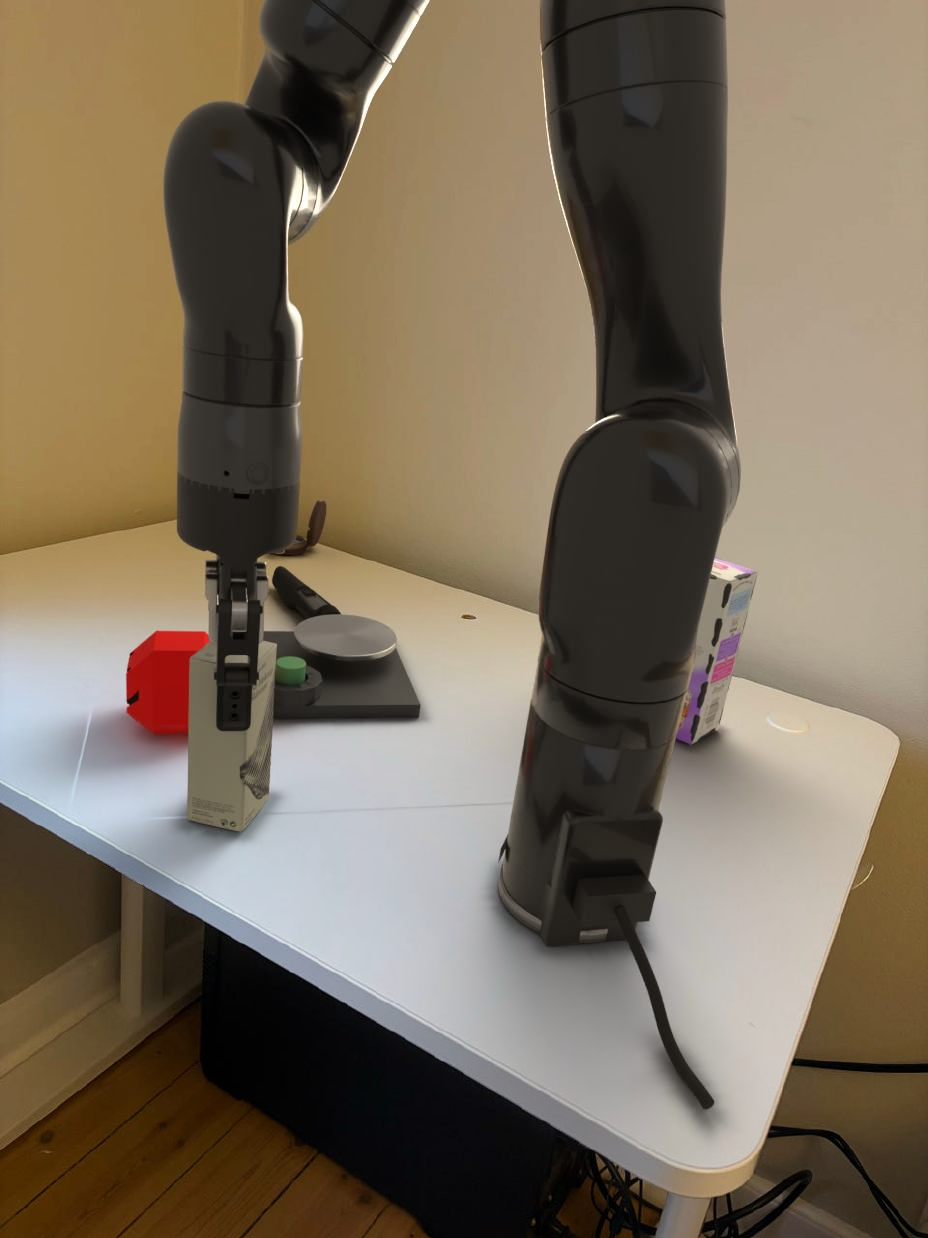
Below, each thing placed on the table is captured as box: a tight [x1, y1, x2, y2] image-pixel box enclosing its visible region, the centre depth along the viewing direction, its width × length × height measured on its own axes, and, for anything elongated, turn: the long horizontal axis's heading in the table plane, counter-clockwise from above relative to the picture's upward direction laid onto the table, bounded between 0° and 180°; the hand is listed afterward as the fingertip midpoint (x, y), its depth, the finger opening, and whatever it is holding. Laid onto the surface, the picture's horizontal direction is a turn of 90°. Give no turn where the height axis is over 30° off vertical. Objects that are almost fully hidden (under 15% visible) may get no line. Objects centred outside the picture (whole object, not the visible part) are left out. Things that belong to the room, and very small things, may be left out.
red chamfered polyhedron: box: [125, 630, 210, 736], centre depth 76 cm, size 8×8×8 cm
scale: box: [263, 630, 421, 720], centre depth 88 cm, size 16×14×3 cm
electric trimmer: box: [271, 565, 342, 620], centre depth 102 cm, size 4×16×3 cm, turn 32°
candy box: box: [675, 557, 759, 746], centre depth 87 cm, size 14×6×16 cm, turn 47°
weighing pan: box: [293, 613, 398, 662], centre depth 90 cm, size 10×10×1 cm
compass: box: [275, 498, 328, 556], centre depth 120 cm, size 8×8×7 cm
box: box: [186, 641, 277, 832], centre depth 65 cm, size 5×4×13 cm
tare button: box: [275, 656, 306, 685], centre depth 81 cm, size 3×3×2 cm
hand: (231, 703), depth 64 cm, fingers closed on box, 6 cm apart
